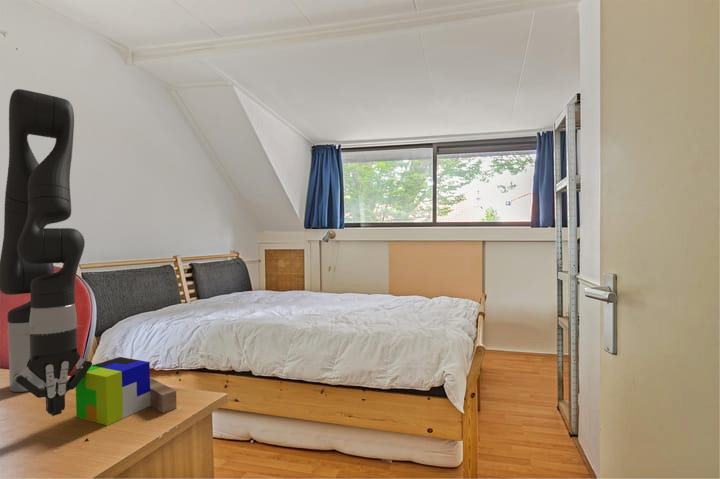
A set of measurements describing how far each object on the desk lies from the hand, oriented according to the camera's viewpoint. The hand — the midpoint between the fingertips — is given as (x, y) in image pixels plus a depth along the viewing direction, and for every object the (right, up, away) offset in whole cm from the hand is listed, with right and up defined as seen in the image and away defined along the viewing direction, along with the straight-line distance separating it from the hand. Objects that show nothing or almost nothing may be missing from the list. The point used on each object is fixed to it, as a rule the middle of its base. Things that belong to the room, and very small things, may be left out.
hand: (55, 413), depth 80 cm
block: (+11, -3, +14) cm, 18 cm away
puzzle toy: (+7, -3, +8) cm, 11 cm away
